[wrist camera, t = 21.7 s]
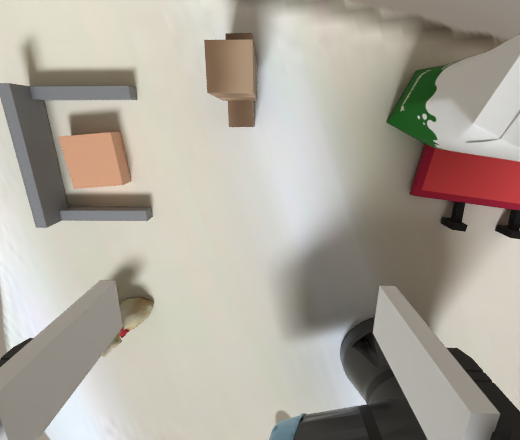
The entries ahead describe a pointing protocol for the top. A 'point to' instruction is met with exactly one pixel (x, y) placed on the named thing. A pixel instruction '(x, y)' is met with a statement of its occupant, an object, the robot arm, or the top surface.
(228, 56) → the stepped wooden beam
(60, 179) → the frame
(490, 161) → the red board with handle
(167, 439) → the top surface
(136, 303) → the tan bunny-shaped figure
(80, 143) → the salmon square block
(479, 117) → the milk carton
